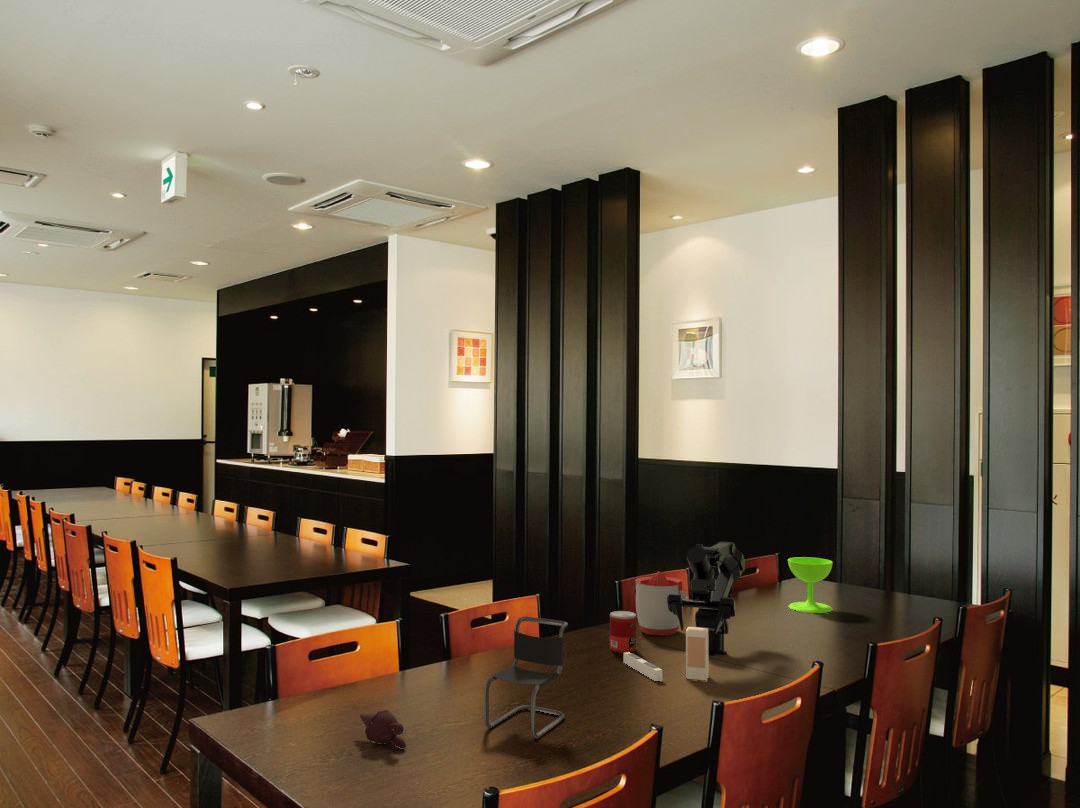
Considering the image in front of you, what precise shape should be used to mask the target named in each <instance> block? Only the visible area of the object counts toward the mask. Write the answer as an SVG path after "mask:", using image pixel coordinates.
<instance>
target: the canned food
mask: <svg viewBox="0 0 1080 808" xmlns="http://www.w3.org/2000/svg"><path fill="white" fill-rule="evenodd" d="M609 649H610V651H611V650H612V651H611V652H613V651H615V652H614V653H616V652H621V653H620V654H624V653H626V652H633V653H634V651H636V649H637V613H635V612H632V611H627V610H617V611H612V612H610V614H609Z"/></svg>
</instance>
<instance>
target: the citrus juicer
mask: <svg viewBox="0 0 1080 808" xmlns="http://www.w3.org/2000/svg"><path fill="white" fill-rule="evenodd" d="M669 594H682V599H687V600H689V596H688V594H687V592H686V591H684V590H683V580H682V579H679V578H677V577H670V576H665V575H664V574H663V573H662V572H660V571H659V570H658V571H657V572H656V573H654V574H653V575H652V576H642V577H638V578H636V579H635V612H636V619H637V621H638V626H639V629H640V631H641V632H642V633H644V634H645V633H647V634H646V635H653V636H664V635H670V636H671V635H675V634H677V631H678V630H679V627H680V622H679V619H678V617H677V615H674V614H673V612H670V611H669V609H668V604H667V596H668V595H669Z"/></svg>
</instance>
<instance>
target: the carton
mask: <svg viewBox="0 0 1080 808" xmlns="http://www.w3.org/2000/svg"><path fill="white" fill-rule="evenodd" d="M686 678H687V679H699V680H706V681H705V682H708V679H709V655H708V628H698V627H696V626H687V628H686V630H685V679H686ZM707 678H708V679H707ZM687 679H686V680H687Z"/></svg>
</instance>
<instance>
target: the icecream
mask: <svg viewBox="0 0 1080 808" xmlns="http://www.w3.org/2000/svg"><path fill="white" fill-rule="evenodd" d="M359 717H360V719H361V721H362V723H363V725H364V726H365V730H364V733H365V735H366V739H367V740H369V741H370V742H371V741H374V742H376V743H375V744H378V743H388V744H390V743H392V744H393V745H394V746H395V745H396V746H398V747H400V748H405V747H406V748H407V743H406V742H405V739H403V738H402V737H400V736H399V735H402V734H403V733H404V731H405V730H404V729H405V728H404V725H403V724H402V723H400V722H399V721H398V720H397V718H396V716H395V715H394V714H393V712H391V711H389V710H388V709H383V710H380V711H379V710H378V711H377V712H376V713H361V714H360V715H359ZM389 742H390V743H389ZM396 746H395V747H396ZM406 748H405V749H406Z"/></svg>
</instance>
